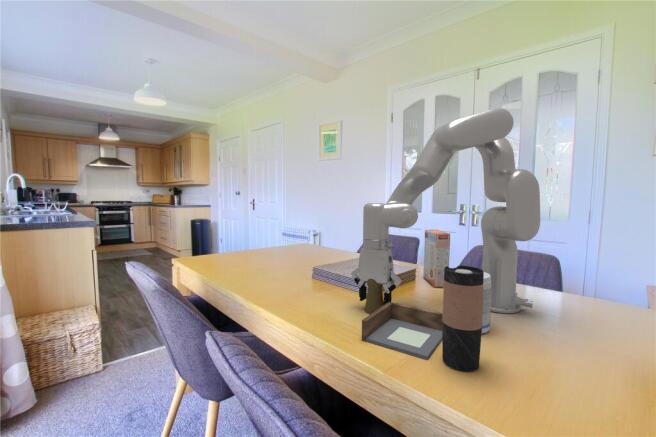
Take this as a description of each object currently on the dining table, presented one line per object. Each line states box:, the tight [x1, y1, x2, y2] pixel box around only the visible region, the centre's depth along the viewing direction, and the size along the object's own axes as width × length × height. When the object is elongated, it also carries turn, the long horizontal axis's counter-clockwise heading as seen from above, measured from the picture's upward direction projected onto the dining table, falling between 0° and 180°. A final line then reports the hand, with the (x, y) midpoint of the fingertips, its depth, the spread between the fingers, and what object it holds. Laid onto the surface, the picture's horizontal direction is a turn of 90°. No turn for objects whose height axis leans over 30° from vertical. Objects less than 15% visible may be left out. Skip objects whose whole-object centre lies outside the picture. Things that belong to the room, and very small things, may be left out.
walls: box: [361, 301, 443, 341], centre depth 78 cm, size 16×16×5 cm
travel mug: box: [441, 265, 484, 373], centre depth 66 cm, size 8×8×20 cm
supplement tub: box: [482, 272, 492, 334], centre depth 83 cm, size 10×10×15 cm
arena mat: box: [361, 319, 442, 361], centre depth 78 cm, size 16×16×1 cm
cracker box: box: [422, 229, 451, 288], centre depth 125 cm, size 14×6×21 cm, turn 179°
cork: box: [364, 279, 384, 315], centre depth 95 cm, size 6×6×11 cm
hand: (374, 302), depth 95 cm, fingers open, 7 cm apart
